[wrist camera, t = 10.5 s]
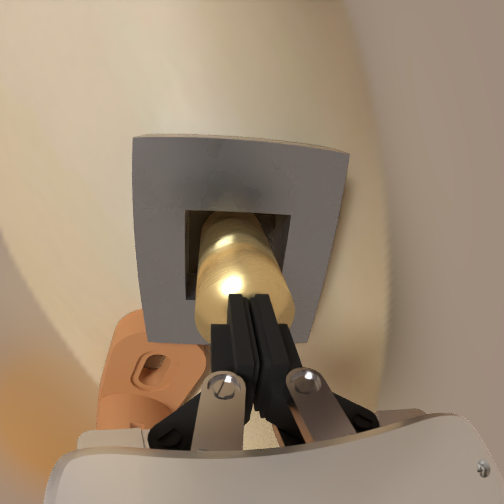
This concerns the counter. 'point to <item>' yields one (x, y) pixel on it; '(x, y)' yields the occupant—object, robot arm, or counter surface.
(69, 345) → the counter surface
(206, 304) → the gold rounded cylinder
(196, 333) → the plate
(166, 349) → the bracket
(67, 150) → the counter surface
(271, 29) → the counter surface
